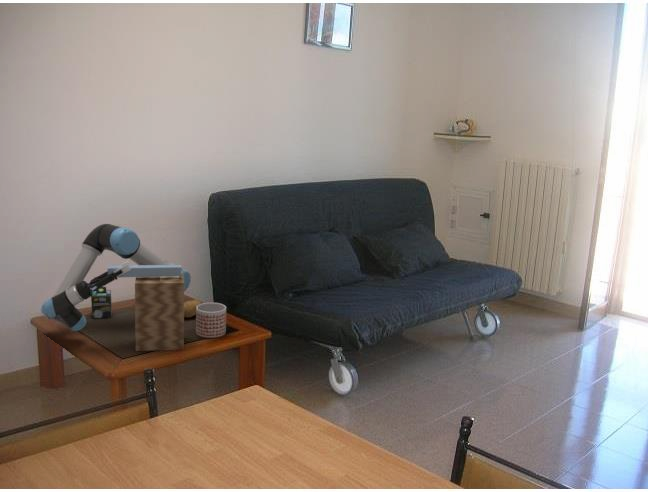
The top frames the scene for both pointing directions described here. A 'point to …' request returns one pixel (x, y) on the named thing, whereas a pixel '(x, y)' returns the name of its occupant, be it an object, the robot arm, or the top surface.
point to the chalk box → (101, 303)
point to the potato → (190, 308)
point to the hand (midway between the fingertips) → (129, 265)
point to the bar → (149, 270)
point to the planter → (211, 320)
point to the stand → (159, 313)
